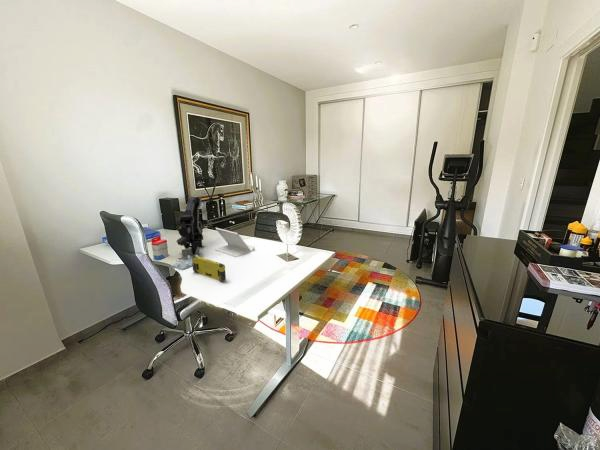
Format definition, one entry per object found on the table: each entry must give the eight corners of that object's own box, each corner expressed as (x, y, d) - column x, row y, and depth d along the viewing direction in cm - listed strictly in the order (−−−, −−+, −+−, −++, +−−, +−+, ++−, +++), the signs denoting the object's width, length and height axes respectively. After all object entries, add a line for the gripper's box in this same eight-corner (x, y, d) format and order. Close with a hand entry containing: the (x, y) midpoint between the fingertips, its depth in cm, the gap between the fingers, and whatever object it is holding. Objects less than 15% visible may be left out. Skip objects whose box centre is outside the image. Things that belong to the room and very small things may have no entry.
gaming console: (228, 280, 135) (226, 263, 132) (222, 283, 131) (220, 266, 129) (198, 270, 147) (196, 254, 145) (191, 273, 144) (190, 257, 141)
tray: (193, 258, 166) (193, 253, 165) (204, 261, 161) (204, 256, 160) (171, 266, 152) (170, 261, 152) (182, 270, 147) (182, 264, 146)
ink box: (159, 260, 163) (156, 239, 159) (153, 259, 164) (150, 238, 160) (169, 255, 171) (166, 235, 167) (162, 255, 172) (160, 235, 168)
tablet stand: (236, 257, 168) (234, 234, 164) (214, 250, 182) (212, 228, 178) (255, 250, 182) (254, 228, 178) (234, 244, 196) (232, 223, 192)
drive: (194, 252, 177) (194, 245, 176) (199, 253, 174) (199, 246, 173) (182, 256, 169) (181, 249, 167) (187, 258, 166) (186, 251, 165)
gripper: (169, 233, 165) (172, 254, 169) (186, 237, 156) (189, 259, 160) (184, 229, 174) (186, 249, 178) (201, 233, 165) (203, 254, 169)
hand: (191, 253), depth 171 cm, fingers closed on drive, 5 cm apart
